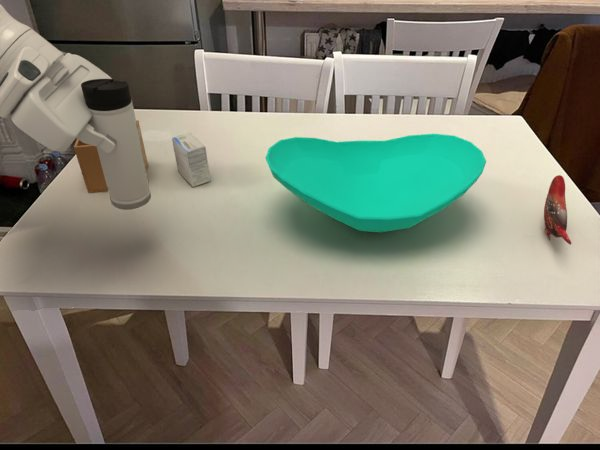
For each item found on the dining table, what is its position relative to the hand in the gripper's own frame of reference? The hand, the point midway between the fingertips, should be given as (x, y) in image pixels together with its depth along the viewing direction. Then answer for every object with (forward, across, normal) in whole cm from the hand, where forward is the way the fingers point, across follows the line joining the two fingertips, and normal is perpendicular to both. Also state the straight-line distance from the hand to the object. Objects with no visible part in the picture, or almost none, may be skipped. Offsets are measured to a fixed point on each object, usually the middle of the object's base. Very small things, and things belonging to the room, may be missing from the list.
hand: (120, 136), depth 69 cm
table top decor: (+44, -10, +14) cm, 47 cm away
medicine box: (+19, -24, -12) cm, 33 cm away
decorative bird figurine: (+66, 0, +37) cm, 76 cm away
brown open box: (+8, -24, -24) cm, 35 cm away
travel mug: (+8, 0, -9) cm, 12 cm away
